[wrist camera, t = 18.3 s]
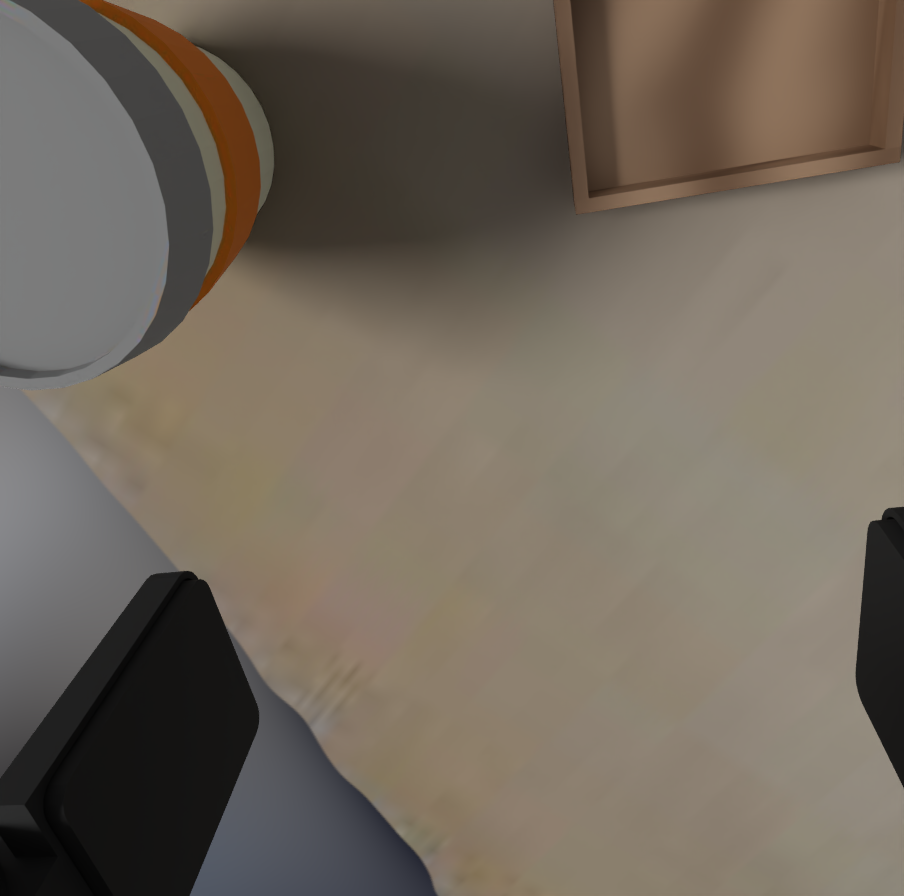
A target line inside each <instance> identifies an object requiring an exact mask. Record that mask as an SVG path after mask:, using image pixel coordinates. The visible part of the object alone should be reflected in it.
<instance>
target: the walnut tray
mask: <svg viewBox="0 0 904 896" xmlns="http://www.w3.org/2000/svg"><path fill="white" fill-rule="evenodd" d="M553 2H554V12H555V22H556V31H557V41H558V51H559V61H560V71H561V80H562V90H563V100H564V110H565V119H566V129H567V139H568V149H569V158H570V168H571V178H572V188H573V197H574V206H575V211H576V215H577V214H583V213H589V212H595V211H601V210H608V209H614V208H620V207H626V206H632V205H638V204H644V203H651V202H657V201H663V200H669V199H675V198H681V197H688V196H694V195H700V194H706V193H712V192H718V191H724V190H731V189H737V188H743V187H749V186H755V185H761V184H767V183H774V182H780V181H786V180H792V179H798V178H804V177H811V176H817V175H823V174H829V173H835V172H841V171H847V170H854V169H860V168H866V167H872V166H878V165H884V164H890V163H897V162H900V155H901V144H902V132H903V120H904V0H553Z"/></svg>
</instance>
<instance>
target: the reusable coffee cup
mask: <svg viewBox="0 0 904 896" xmlns="http://www.w3.org/2000/svg"><path fill="white" fill-rule="evenodd" d="M273 171H274V146H273V141H272V137H271V132H270V128H269V124H268V122H267V119H266V117H265V114H264V112H263V109H262V107H261V105H260V103H259V102H258V100H257V98H256V97H255V95H254V94H253V92H252V90H251V89H250V87H249V86H248V85H247V84H246V83H245V81H244V80H243V79H242V78H241V77H240V76H239V75H238V73H237V72H236V71H235V70H233V69H232V68H231V67H230V66H228V65H227V64H226V63H225V62H224V61H222V60H221V59H220V58H218V57H216V56H215V55H213V54H211V53H209V52H207V51H206V50H204V49H202V48H199V47H196V46H195V45H193V44H192V43H191V42H190V41H188V40H187V39H186V38H185V37H183V36H182V35H181V34H179V33H177V32H176V31H174V30H172V29H170V28H168V27H167V26H165V25H163V24H161V23H159V22H157V21H156V20H154V19H151V18H148V17H146V16H143V15H140V14H138V13H135V12H132V11H130V10H127V9H125V8H122V7H119V6H117V5H114V4H111V3H109V2H106V1H103V0H0V387H7V388H16V389H25V390H41V389H54V388H64V387H67V386H70V385H74V384H77V383H80V382H84V381H87V380H90V379H93V378H95V377H97V376H99V375H101V374H103V373H105V372H107V371H109V370H111V369H113V368H115V367H117V366H119V365H121V364H123V363H124V362H126V361H128V360H130V359H132V358H134V357H136V356H138V355H140V354H141V353H143V352H145V351H147V350H148V349H150V348H152V347H153V346H155V345H157V344H158V343H160V342H162V341H163V340H164V339H165V338H166V337H167V336H168V335H169V334H170V333H171V332H172V331H173V330H174V329H175V328H176V327H177V326H178V325H179V324H180V323H181V322H182V321H183V319H184V318H185V316H186V315H187V313H188V311H190V310H191V309H192V308H193V307H194V306H195V305H196V304H197V303H198V302H199V301H200V300H201V299H202V298H203V297H204V296H205V295H206V294H207V293H208V292H209V291H210V290H211V289H212V287H213V286H214V285H215V283H216V282H217V281H218V279H219V278H220V277H221V276H222V274H223V273H224V272H225V270H226V269H227V268H228V266H229V265H230V264H231V262H232V261H233V260H234V259H235V257H236V256H237V254H238V253H239V251H240V250H241V248H242V247H243V245H244V243H245V242H246V240H247V239H248V237H249V235H250V232H251V229H252V227H253V224H254V221H255V218H256V215H257V214H258V212H259V210H260V209H261V207H262V206H263V204H264V202H265V201H266V198H267V195H268V192H269V190H270V187H271V184H272V177H273Z"/></svg>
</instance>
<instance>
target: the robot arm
mask: <svg viewBox="0 0 904 896" xmlns="http://www.w3.org/2000/svg"><path fill="white" fill-rule="evenodd" d="M856 684H857V689H858V693H859V696H860V699H861V701H862V704H863V706H864V708H865V710H866V712H867V714H868V716H869V718H870V720H871V722H872V724H873V726H874V728H875V730H876V732H877V734H878V736H879V738H880V740H881V742H882V745H883V747H884V749H885V751H886V753H887V755H888V757H889V759H890V761H891V763H892V765H893V767H894V769H895V771H896V773H897V775H898V777H899V779H900V781H901V783H902V785H903V787H904V507H896V508H888V509H886V510H885V511H884V513H883V515H882V520H876V521H872V522H870V524H869V527H868V533H867V545H866V556H865V568H864V580H863V592H862V603H861V615H860V627H859V639H858V650H857V662H856ZM258 725H259V710H258V706H257V703H256V701H255V698H254V696H253V693H252V691H251V689H250V686H249V683H248V681H247V678H246V676H245V674H244V671H243V669H242V666H241V664H240V661H239V659H238V656H237V654H236V651H235V649H234V646H233V644H232V642H231V639H230V637H229V634H228V632H227V629H226V627H225V624H224V622H223V619H222V617H221V614H220V612H219V610H218V607H217V605H216V602H215V600H214V597H213V595H212V592H211V590H210V587H209V586H208V584H207V582H205V581H204V580H201V579H199V580H198V578H197V576H196V575H195V574H194V573H193V572H190V571H181V572H171V573H159V574H154V575H151V576H150V577H149V578H148V579H147V580H146V581H145V582H144V584H143V585H142V587H141V588H140V589H139V591H138V592H137V593H136V595H135V596H134V597H133V599H132V600H131V601H130V603H129V604H128V606H127V607H126V608H125V610H124V611H123V612H122V614H121V615H120V616H119V618H118V619H117V620H116V622H115V623H114V625H113V626H112V627H111V629H110V630H109V631H108V633H107V634H106V635H105V637H104V638H103V639H102V641H101V642H100V644H99V645H98V646H97V648H96V649H95V650H94V652H93V653H92V655H91V656H90V657H89V659H88V660H87V661H86V663H85V664H84V665H83V667H82V668H81V670H80V671H79V672H78V673H77V675H76V676H75V678H74V679H73V680H72V682H71V683H70V684H69V686H68V687H67V689H66V690H65V691H64V693H63V694H62V695H61V697H60V698H59V699H58V701H57V702H56V704H55V705H54V706H53V707H52V709H51V710H50V712H49V713H48V714H47V716H46V717H45V718H44V720H43V721H42V723H41V724H40V725H39V727H38V728H37V729H36V731H35V732H34V733H33V735H32V736H31V738H30V739H29V740H28V742H27V743H26V744H25V746H24V747H23V749H22V750H21V751H20V752H19V754H18V755H17V757H16V758H15V759H14V761H13V762H12V763H11V765H10V766H9V767H8V769H7V770H6V771H5V773H4V774H3V776H2V777H1V778H0V896H190V893H191V891H192V888H193V886H194V883H195V881H196V879H197V876H198V874H199V871H200V869H201V866H202V864H203V862H204V859H205V857H206V854H207V852H208V849H209V847H210V844H211V842H212V840H213V837H214V835H215V832H216V830H217V828H218V825H219V823H220V820H221V818H222V815H223V813H224V811H225V808H226V806H227V803H228V801H229V798H230V796H231V793H232V791H233V788H234V786H235V784H236V781H237V779H238V776H239V773H240V772H241V769H242V766H243V764H244V762H245V759H246V757H247V754H248V752H249V750H250V747H251V745H252V742H253V740H254V737H255V735H256V732H257V729H258Z"/></svg>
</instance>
